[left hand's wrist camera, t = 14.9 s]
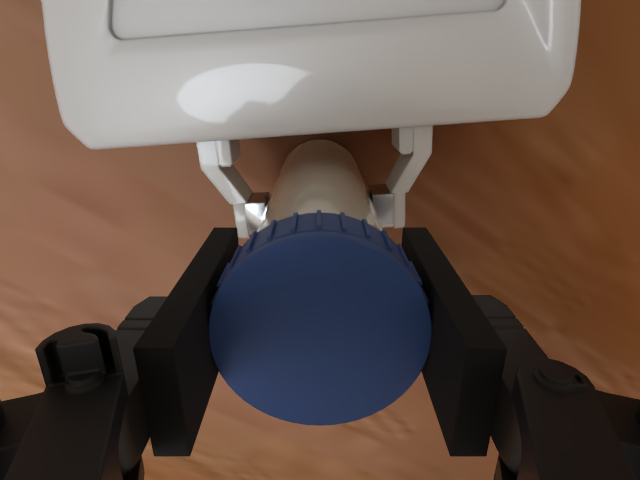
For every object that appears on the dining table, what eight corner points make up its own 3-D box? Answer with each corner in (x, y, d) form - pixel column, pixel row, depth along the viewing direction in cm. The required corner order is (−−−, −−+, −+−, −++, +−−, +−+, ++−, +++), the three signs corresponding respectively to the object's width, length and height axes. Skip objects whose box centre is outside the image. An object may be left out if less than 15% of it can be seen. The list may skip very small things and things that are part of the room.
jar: (299, 227, 27) (273, 425, 12) (267, 157, 25) (190, 283, 10) (370, 200, 26) (438, 372, 11) (342, 126, 25) (378, 212, 10)
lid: (271, 405, 13) (264, 452, 12) (183, 254, 11) (160, 284, 10) (443, 348, 13) (461, 390, 11) (381, 175, 11) (391, 194, 9)
